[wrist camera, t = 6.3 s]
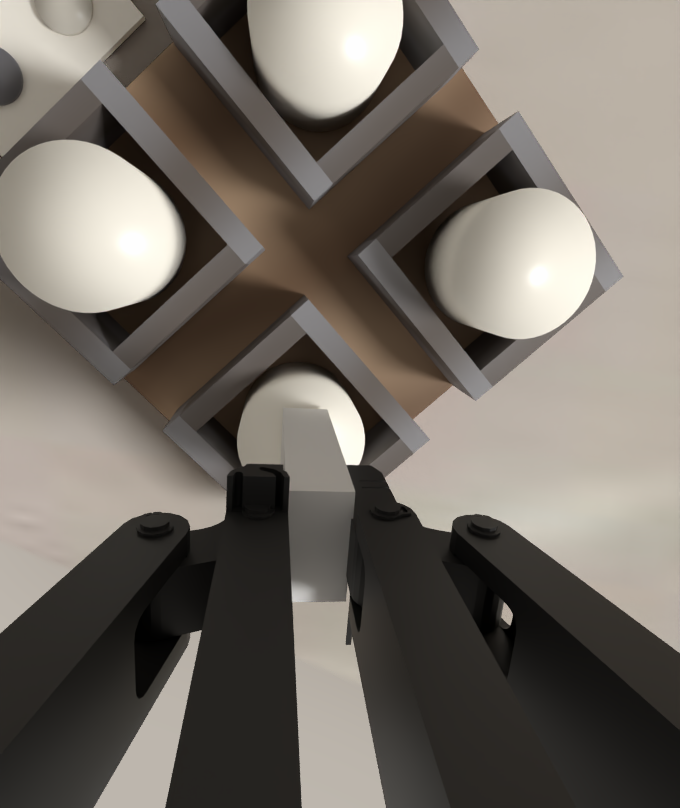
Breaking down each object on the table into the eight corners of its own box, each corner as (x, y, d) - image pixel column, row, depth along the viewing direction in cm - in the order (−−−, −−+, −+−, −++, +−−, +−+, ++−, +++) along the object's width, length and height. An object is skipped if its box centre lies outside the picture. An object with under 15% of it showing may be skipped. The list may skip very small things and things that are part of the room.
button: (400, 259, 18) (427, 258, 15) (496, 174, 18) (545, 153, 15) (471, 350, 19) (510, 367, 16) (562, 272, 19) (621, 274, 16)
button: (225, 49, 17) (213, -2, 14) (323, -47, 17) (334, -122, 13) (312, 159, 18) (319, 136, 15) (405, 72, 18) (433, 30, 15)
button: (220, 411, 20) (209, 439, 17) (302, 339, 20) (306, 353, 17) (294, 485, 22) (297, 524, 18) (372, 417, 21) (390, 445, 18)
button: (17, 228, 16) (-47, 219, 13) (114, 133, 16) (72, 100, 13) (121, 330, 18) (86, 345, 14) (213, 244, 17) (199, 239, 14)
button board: (-7, 238, 19) (-78, 232, 15) (334, -97, 18) (349, -197, 14) (283, 516, 23) (284, 565, 20) (575, 266, 22) (638, 267, 18)
